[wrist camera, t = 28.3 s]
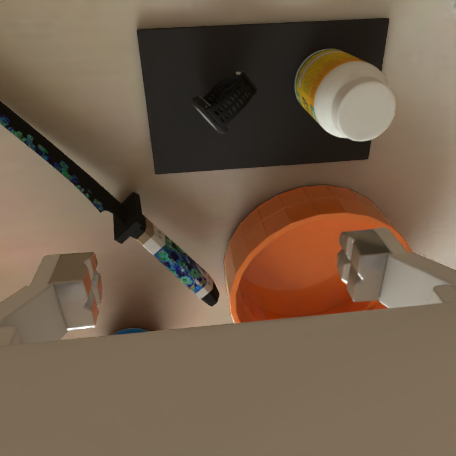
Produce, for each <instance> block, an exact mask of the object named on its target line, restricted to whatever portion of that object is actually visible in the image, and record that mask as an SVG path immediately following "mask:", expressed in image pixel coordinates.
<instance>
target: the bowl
mask: <svg viewBox="0 0 456 456" xmlns="http://www.w3.org/2000/svg"><path fill="white" fill-rule="evenodd" d="M382 227H386V228H388V229H389V230H390V231H391V233H392V234H393V235H394V236H395V237H396V238H397V240H398V241H399V242H400V243H401V244H402V246H403V247H404V248H405V249H406V250H407V251H408V253H411V250H410V248H409V246H408V244H407V241H406V240H405V239H404V237H403V236H402V235H401V234H400V233H399V232H398V230H397V229H396V228H395V227H394V226H393V225H392V224H391V222H390V221H389V220H388V219H387V218H386V217H385V215H384V214H383V213H382V212H381V211H380V210H379V209H378V208H377V207H376V206H375V205H374V204H373V203H372V202H371V201H370V200H369V199H368V198H366V197H364V196H362V195H360V194H358V193H356V192H354V191H352V190H350V189H347V188H341V187H335V186H330V185H319V186H306V187H300V188H297V189H293V190H290V191H287V192H284V193H281V194H279V195H276V196H275V197H273V198H271V199H269V200H268V201H266V202H264V203H263V204H261V205H259V206H258V207H257V208H256V209H254V210H253V211H252V212H251V213H250V214H249V215H248V216H247V217H246V218H245V219H244V220H243V221H242V222H241V223H240V225H239V226H238V228H237V229H236V231H235V233H234V234H233V236H232V238H231V239H230V241H229V244H228V247H227V251H226V255H225V258H224V275H225V283H226V290H227V296H228V302H229V308H230V314H231V316H232V319H233V321H234V323H242V322H253V321H263V320H273V319H283V318H294V317H304V316H314V315H324V314H334V313H345V312H355V311H365V310H375V309H386V308H388V307H386V306H385V305H383V304H382V303H380V302H379V300H377V301H363V302H353V300H352V298H351V296H350V294H349V293H348V291H347V283H345V282H344V281H342V280H341V278H340V276H339V273H338V268H337V255H338V253H339V252H340V250H341V249H342V247H341V245H340V243H339V239H340V235H341V232H347V231H356V230H366V229H374V228H382Z"/></svg>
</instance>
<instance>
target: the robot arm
mask: <svg viewBox="0 0 456 456" xmlns="http://www.w3.org/2000/svg"><path fill="white" fill-rule="evenodd" d="M339 243H340V245H341V247H342V249H341V250H340V252H339V253H338V255H337V268H338V273H339V276H340V278H341V280H342V281H344V282H345V283H347V291H348V293H349V294H350V296H351V298H352V300H353V302H363V301H377V300H379V302H380V303H382V304H383V305H385V306H386V307H388V308H386V309H375V310H365V311H355V312H345V313H334V314H324V315H314V316H304V317H294V318H283V319H273V320H263V321H253V322H242V323H232V324H222V325H211V326H201V327H191V328H181V329H170V330H160V331H150V332H140V333H129V334H119V335H109V336H99V337H88V338H78V339H68V340H60V339H61V338H62V337H63V336H64V335H65V334H66V333H67V332H68V331H67V330H73V329H82V328H90V327H95V326H96V321H97V317H98V313H99V311H98V307H97V305H99V304H100V303H101V299H102V280H101V276H100V274H99V273H98V272H97V271H96V267H97V259H96V255H95V254H94V252H87V253H72V254H56V255H46V256H44V257H43V259H42V261H41V264H40V266H39V268H38V270H37V272H36V274H35V276H34V278H33V280H32V283H31V285H30V286H25V287H23V288H22V289H20V290H19V291H17V292H16V293H14V294H13V295H11V296H10V297H8V298H7V299H5V300H4V301H2V302H1V303H0V456H456V270H454V269H451V268H449V267H446V266H444V265H442V264H439V263H437V262H435V261H432V260H430V259H428V258H425V257H423V256H420V255H418V254H416V253H413V252H411V253H408V251H407V250H406V249H405V248H404V247H403V246H402V244H401V243H400V242H399V241H398V240H397V238H396V237H395V236H394V235H393V234H392V233H391V231H390V230H389V229H388V228H386V227H382V228H374V229H366V230H356V231H347V232H341V235H340V239H339Z"/></svg>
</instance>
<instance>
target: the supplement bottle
mask: <svg viewBox="0 0 456 456" xmlns="http://www.w3.org/2000/svg"><path fill="white" fill-rule="evenodd" d="M295 93H296V97H297V99H298V101H299V103H300V104H301V105H302V106H303V108H304V109H305V110H306V111H307V112H308V113H309V114H310V115H311V116H312V117H313V118H314V119H315V120H316V122H317V123H318V124H319V125H320V126H321V127H322V128H323V129H324V130H325V131H327V132H328V133H330V134H332V135H334V136H337V137H341V138H349V139H351V140H353V141H368V140H371V139H374V138H376V137H378V136H379V135H380V134H382V133H383V132H384V131H385V130H386V129H387V128H388V127H389V125H390V124H391V122H392V120H393V118H394V115H395V112H396V99H395V96H394V93H393V92H392V90H391V89H390V88H389V86H388V83H387V80H386V78H385V76H384V75H383V73H382V72H381V71H380V70H379V69H378V68H376V67H375V66H373V65H371V64H369V63H367V62H365V61H363V60H360V59H358V58H356V57H354V56H352V55H350V54H348V53H346V52H343V51H341V50H337V49H323V50H320V51H317V52H315V53H313V54H311V55H310V56H309V57H308V58H306V59H305V60H304V62H303V63H302V64H301V66H300V67H299V69H298V71H297V73H296V78H295Z"/></svg>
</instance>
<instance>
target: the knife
mask: <svg viewBox="0 0 456 456" xmlns="http://www.w3.org/2000/svg"><path fill="white" fill-rule="evenodd" d="M0 124H1V125H3V126H4V127H5V128H6V129H7V130H9V131H10V132H11V133H12V134H14V135H15V136H16V137H17V138H19V139H20V140H21V141H22V142H24V143H25V144H26V145H27V146H29V147H30V148H31V149H32V150H34V151H35V152H36V153H37V154H39V155H40V156H41V157H42V158H43V159H45V160H46V161H47V162H48V163H49V164H51V165H52V166H53V167H54V168H55V169H57V170H58V171H59V172H60V173H61V174H62V175H64V176H65V177H66V178H67V179H68V180H69V181H71V182H72V183H73V184H74V185H75V186H76V187H77V188H78V189H79V190H80V191H81V192H82V193H83V194H84V195H85V196H86V197H87V198H88V199H89V200H90V201H91V203H92V204H93V205H94V206H95V207H96V208H97V209H98V210H99V212H100V213H101V212H102V211H105V210H106V211H109V212H111V213H113V220H114V240H115V241H117V242H119V243H121V244H122V243H123V242H124V241H125V240H127V239H128V238H129V237H130V236H131V237H133V238H135V239H136V240H137V241H138V242H139V243H141V244H142V245H143V246H144V247H145V248H146V249H147V250H148V251H149V252H150V253H151V254H152V255H153V256H155V257H156V258H157V259H158V260H159V261H160V262H161V263H162V264H163V265H164V266H165V267H167V268H168V269H169V270H170V271H171V272H172V273H173V274H174V275H175V276H176V277H177V278H178V279H180V280H181V281H182V282H183V283H184V284H185V285H186V286H187V287H188V288H189V289H190V290H192V291H193V292H194V293H195V294H196V295H197V296H198V297H199V298H200V299H202V300H203V301H204V302H205V303H207V304H208V305H210V306H213V305H215V304H216V303H217V301H218V298H219V292H218V289H217V287H216V285H215V283H214V281H213V279H212V278H211V277H210V275H209V274H208V273H207V272H206V271H205V270H204V269H202V268H201V267H200V266H199V265H198V264H197V263H196V262H195V261H194V260H192V259H191V258H190V257H189V256H188V255H187V254H186V253H185V252H184V251H182V250H181V249H180V248H179V247H178V246H177V245H176V244H175V243H174V242H172V241H171V240H170V239H169V238H168V237H167V236H166V235H165V234H164V233H162V232H161V231H160V230H159V229H158V228H157V227H156V226H155V225H154V224H152V223H151V222H150V221H149V220H148V219H147V218H146V217H145V216H144V215H143V214H142V210H141V204H140V197H139V195H138V194H136V193H135V192H133V193H132V194H131V195H130V196H129V197H128V198H127V199H126V200H124V201H123V202H122V203H120V202H119V201H118V200H116V199H115V198H114V197H113V196H112V195H111V194H110V193H109V192H108V191H106V190H105V189H104V188H103V187H102V186H101V185H100V184H99V183H98V182H96V181H95V180H94V179H93V178H92V177H91V176H90V175H88V174H87V173H86V172H85V171H84V170H83V169H81V168H80V167H79V166H78V165H77V164H76V163H74V162H73V161H72V160H71V159H70V158H68V157H67V156H66V155H65V154H64V153H63V152H61V151H60V150H59V149H58V148H57V147H56V146H54V145H53V144H52V143H51V142H50V141H49V140H47V139H46V138H45V137H44V136H43V135H41V134H40V133H39V132H38V131H36V130H35V129H34V128H33V127H32V126H30V125H29V124H28V123H27V122H26V121H24V120H23V119H22V118H21V117H19V116H18V115H17V114H16V113H14V112H13V111H12V110H11V109H9V108H8V107H7V106H6V105H4V104H3V103H2V102H1V101H0Z"/></svg>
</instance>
